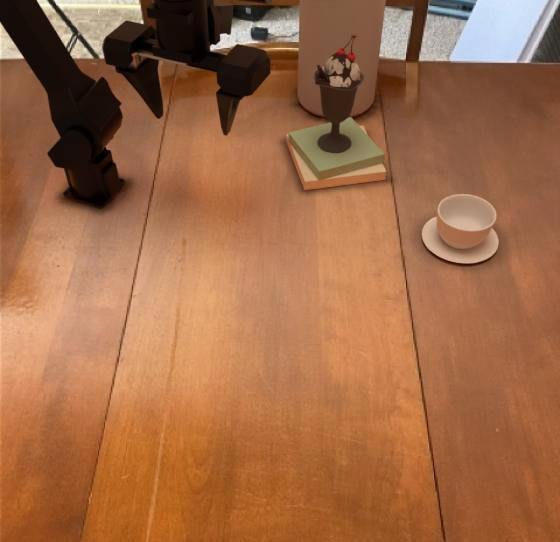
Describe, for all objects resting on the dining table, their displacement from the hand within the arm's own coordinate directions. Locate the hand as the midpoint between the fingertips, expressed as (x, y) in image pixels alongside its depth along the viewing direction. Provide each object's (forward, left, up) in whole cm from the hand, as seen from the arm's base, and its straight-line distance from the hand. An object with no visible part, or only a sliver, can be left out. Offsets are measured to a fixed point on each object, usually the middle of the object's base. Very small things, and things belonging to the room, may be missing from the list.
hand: (193, 125), depth 83 cm
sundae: (+12, +18, -10) cm, 24 cm away
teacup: (+34, +8, -13) cm, 37 cm away
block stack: (+13, +18, -13) cm, 26 cm away
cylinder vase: (+7, +34, -13) cm, 37 cm away
